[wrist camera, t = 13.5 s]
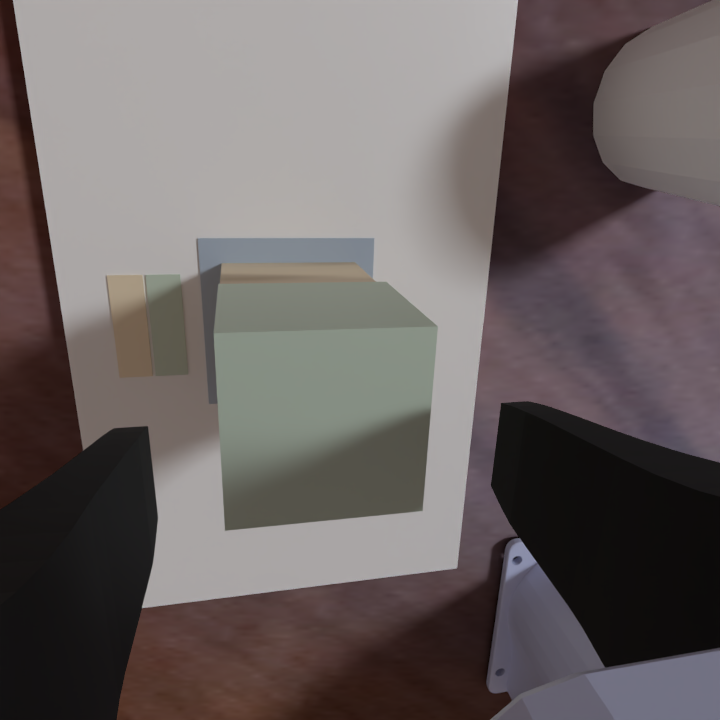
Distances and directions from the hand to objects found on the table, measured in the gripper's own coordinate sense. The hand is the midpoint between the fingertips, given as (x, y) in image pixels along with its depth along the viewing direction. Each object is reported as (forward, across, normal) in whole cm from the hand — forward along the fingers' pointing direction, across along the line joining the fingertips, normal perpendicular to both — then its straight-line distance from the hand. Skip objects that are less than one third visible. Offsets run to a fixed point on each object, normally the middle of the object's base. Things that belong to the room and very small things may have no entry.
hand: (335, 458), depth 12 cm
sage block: (+5, 0, 0) cm, 5 cm away
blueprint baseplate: (+10, 0, 0) cm, 10 cm away
